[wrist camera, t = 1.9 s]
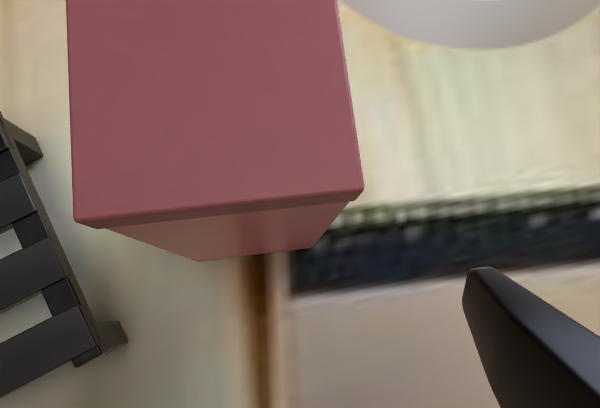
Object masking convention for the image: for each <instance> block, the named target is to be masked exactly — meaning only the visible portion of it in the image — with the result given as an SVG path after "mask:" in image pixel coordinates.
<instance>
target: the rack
mask: <svg viewBox="0 0 600 408" xmlns="http://www.w3.org/2000/svg"><path fill="white" fill-rule="evenodd" d="M41 157H43V154H42V152H41V150H40V147H39V145H38V143H37V141H36V139H35V137H33V136H31V135H30V134H28V133H27V132H25V131H24V130H22V129H20V128H19V127H17V126H16V125H14V124H12V123H11V122H9V121H8V120H6V119H4V118H3V115H2V113H1V112H0V234H1V233H4V232H6V231H8V230H10V229H12V228H14V230H15V232H16V234H17V237H18V239H19V241H20V243H21V246H22V248H23V249H21V250H19V251H17V252H15V253H13V254H11V255H9V256H7V257H4V258H2V259H0V314H1V313H3V312H5V311H7V310H9V309H11V308H13V307H15V306H17V305H19V304H21V303H23V302H25V301H27V300H29V299H31V298H33V297H35V296H37V295H39V294H41V293H42V294H43V296H44V298H45V301H46V303H47V305H48V307H49V310H50V312H51V314H52V317H51V318H49V319H47V320H45V321H43V322H41V323H39V324H37V325H35V326H33V327H31V328H29V329H27V330H26V331H24V332H22V333H20V334H18V335H16V336H14V337H12V338H10V339H8V340H6V341H4V342H2V343H0V362H1V371H0V399H1V398H3V397H5V396H7V395H8V394H10V393H12V392H14V391H16V390H18V389H20V388H22V387H24V386H26V385H27V384H29V383H31V382H33V381H35V380H37V379H39V378H41V377H43V376H44V375H46V374H48V373H50V372H52V371H54V370H56V369H58V368H60V367H62V366H63V365H65V364H67V363H69V362H71V361H72V362H73V365H74V367H75V368H77V367H80V366H83V365H85V364H87V363H89V362H91V361H92V360H94V359H96V358H98V357H100V356H102V355H105V354H108V353H109V352H111V351H113V350H115V349H117V348H119V347H121V346H123V345H125V344H126V343H128V339H127V337H126V335H125V333H124V331H123V329H122V326H121V324H120V322H119V321H113V322H108V323H103V324H96V322H95V319H94V317H93V315H92V313H91V311H90V308H89V306H88V304H87V302H86V299H85V297H84V295H83V293H82V291H81V288H80V286H79V284H78V282H77V279H76V277H75V275H74V273H73V271H72V268H71V266H70V264H69V262H68V260H67V257H66V255H65V253H64V251H63V248H62V246H61V244H60V242H59V240H58V237H57V235H56V233H55V231H54V228H53V226H52V224H51V222H50V220H49V217H48V215H47V213H46V211H45V209H44V206H43V204H42V202H41V200H40V197H39V195H38V193H37V191H36V189H35V186H34V184H33V182H32V180H31V177H30V175H29V173H28V171H27V169H26V166H25V165H26V164H28V163H31V162H33V161H35V160H37V159H39V158H41Z"/></svg>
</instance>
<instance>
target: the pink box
mask: <svg viewBox="0 0 600 408" xmlns="http://www.w3.org/2000/svg"><path fill="white" fill-rule="evenodd" d="M66 15H67V44H68V73H69V102H70V130H71V159H72V188H73V217H74V220H75V222H77V223H80V224H83V225H86V226H89V227H92V228H95V229H103V228H106V229H109V230H111V231H114V232H117V233H120V234H122V235H125V236H128V237H131V238H134V239H136V240H139V241H142V242H145V243H147V244H150V245H153V246H156V247H159V248H161V249H164V250H167V251H170V252H172V253H175V254H178V255H181V256H184V257H186V258H189V259H192V260H195V261H205V260H214V259H223V258H231V257H240V256H248V255H257V254H266V253H274V252H283V251H291V250H300V249H309V248H312V247H313V246H314V244H315V243H316V242H317V241H318V239H319V238H320V237H321V236H322V235H323V233H324V232H325V231H326V230H327V228H328V227H329V226H330V225H331V223H332V222H333V221H334V220H335V219H336V217H337V216H338V215H339V214H340V212H341V211H342V210H343V209H344V207H345V206H346V205H347V204H348V202H349V201H354V200H356V199H357V197H358V196H359V195H360V194H361V193H362V192H363V190H364V181H363V174H362V167H361V161H360V154H359V147H358V140H357V133H356V127H355V120H354V113H353V106H352V100H351V93H350V86H349V79H348V73H347V66H346V59H345V52H344V45H343V39H342V32H341V25H340V18H339V12H338V5H337V0H66Z"/></svg>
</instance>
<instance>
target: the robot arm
mask: <svg viewBox="0 0 600 408" xmlns="http://www.w3.org/2000/svg"><path fill="white" fill-rule="evenodd" d="M462 306H463V310H464V313H465V316H466V319H467V322H468V325H469V328H470V330H471V333H472V336H473V339H474V342H475V345H476V348H477V350H478V353H479V356H480V359H481V362H482V365H483V367H484V370H485V373H486V376H487V378H488V381H489V384H490V386H491V388H492V390H493V392H494V395H495V397H496V399H497V401H498V403H499V405H500V407H501V408H600V337H599V336H598V335H596V334H595V333H593V332H591V331H590V330H588V329H587V328H585V327H584V326H582V325H581V324H579V323H578V322H576V321H575V320H573V319H571V318H570V317H568V316H567V315H565V314H564V313H562V312H561V311H559V310H558V309H556V308H555V307H553V306H551V305H550V304H548V303H547V302H545V301H544V300H542V299H541V298H539V297H538V296H536V295H535V294H533V293H532V292H530V291H528V290H527V289H525V288H524V287H522V286H521V285H519V284H518V283H516V282H515V281H513V280H512V279H510V278H508V277H507V276H505V275H504V274H502V273H501V272H499V271H498V270H496V269H494V268H492V267H481V268H473V269H471V270H469V272H468V274H467V278H466V283H465V288H464V292H463V297H462ZM0 371H1V362H0Z"/></svg>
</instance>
